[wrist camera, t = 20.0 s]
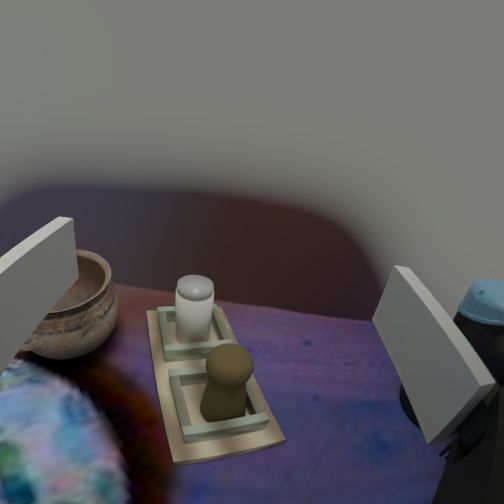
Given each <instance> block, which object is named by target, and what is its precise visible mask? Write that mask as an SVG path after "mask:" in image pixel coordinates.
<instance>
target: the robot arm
mask: <svg viewBox="0 0 504 504" xmlns="http://www.w3.org/2000/svg"><path fill="white" fill-rule="evenodd" d="M78 278H79V272H78V265H77V256H76V247H75V237H74V224H73V218H66V217H58V218H56V219H55V220H53V221H52V222H50V223H48V224H47V225H45V226H44V227H43V228H41V229H40V230H38V231H37V232H35V233H34V234H32V235H31V236H29V237H28V238H27V239H25V240H24V241H22V242H21V243H20V244H18V245H17V246H15V247H14V248H13V249H11V250H10V251H9V252H7V253H6V254H5V255H3V256H2V257H1V258H0V376H1V375H2V373H3V372H4V370H5V369H6V368H7V366H8V365H9V363H10V362H11V361H12V359H13V358H14V356H15V355H16V354H17V352H18V351H19V350H20V348H21V347H22V346H23V344H24V343H25V342H26V340H27V339H28V338H29V336H30V335H31V334H32V333H33V331H34V330H35V329H36V327H37V326H38V325H39V324H40V322H41V321H42V320H43V319H44V317H45V316H46V315H47V314H48V313H49V311H50V310H51V309H52V308H53V307H54V305H55V304H56V303H57V302H58V301H59V300H60V298H61V297H62V296H63V295H64V294H65V293H66V292H67V290H68V289H69V288H70V287H71V286H72V285H73V284H74V283H75V281H76V280H77V279H78ZM372 321H373V323H374V325H375V327H376V329H377V331H378V333H379V335H380V337H381V339H382V341H383V343H384V345H385V347H386V349H387V351H388V353H389V356H390V358H391V360H392V362H393V364H394V366H395V368H396V371H397V373H398V375H399V377H400V380H401V382H402V386H401V390H400V398H401V403H402V406H403V408H404V410H405V412H406V414H407V415H408V417H409V418H410V419H411V420H412V421H413V422H414V423H415V424H416V425H417V426H418V427H420V428H421V429H422V432H423V435H424V437H425V440H426V442H427V444H432V443H436V442H439V441H443V440H445V439H446V438H447V437H448V436H449V435H450V434H453V433H455V432H457V433H458V436H457V437H456V438H455V439H454V440H453V441H452V442H451V443H450V444H449V445H448V446H446V447H445V448H444V449H443V450H442V451H441V453H440V454H439V456H440V457H441V456H443V455H444V454H445V453H446V452H447V451H448V450H450V452H449V454H448V455H447V456H446V457H445V459H447V462H446V465H445V468H444V471H443V474H442V477H441V480H440V483H439V486H438V488H437V491H436V494H435V496H434V499H433V501H432V504H504V282H502V281H498V280H494V279H480V280H477V281H476V282H474V283H473V284H472V285H471V287H470V288H469V290H468V292H467V294H466V295H465V297H464V299H463V301H462V302H460V304H459V307H458V311H457V313H456V315H455V317H454V319H453V321H452V319H451V318H450V317H449V316H448V314H447V313H446V312H445V310H443V308H442V307H441V305H440V304H439V303H438V302H437V301H436V299H435V298H434V297H433V296H432V294H431V293H430V292H429V291H428V290H427V288H426V287H425V286H424V285H423V284H422V282H421V281H420V280H419V279H418V278H417V277H416V276H415V274H414V273H413V272H412V271H411V270H410V269H409V268H408V267H401V266H394V267H393V270H392V272H391V276H390V278H389V280H388V283H387V285H386V288H385V290H384V293H383V295H382V297H381V300H380V302H379V304H378V307H377V309H376V311H375V314H374V316H373V318H372Z"/></svg>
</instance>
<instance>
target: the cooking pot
mask: <svg viewBox="0 0 504 504" xmlns="http://www.w3.org/2000/svg"><path fill="white" fill-rule="evenodd" d="M76 256H77V265H78V272H79V278H78V279H77V280H76V281H75V283H74V284H73V285H72V286H71V287H70V288H69V289H68V290H67V292H66V293H65V294H64V295H63V296H62V297H61V298H60V300H59V301H58V302H57V303H56V304H55V305H54V307H53V308H52V309H51V310H50V311H49V313H48V314H47V315H46V316H45V317H44V319H43V320H42V321H41V322H40V324H39V325H38V326H37V327H36V329H35V330H34V331H33V333H32V334H31V335H30V336H29V338H28V339H27V340H26V342H25V343H24V344H23V346H22V347H21V348H20V350H19V351H33V352H34V353H36V354H38V355H41V356H43V357H47V358H52V359H71V358H75V357H79V356H82V355H85V354H87V353H89V352H91V351H93V350H94V349H96V348H97V347H98V346H100V345H101V344H102V343H103V342H104V341H105V340H106V339H107V338H108V336H109V335H110V334H111V332H112V330H113V328H114V326H115V324H116V321H117V317H118V313H119V301H118V297H117V293H116V290H115V288H114V285H113V283H112V281H111V279H110V277H111V269H110V266H109V265H108V263H107V262H106V261H105V260H104V259H103V258H102V257H100V256H99V255H97V254H95V253H92V252H88V251H85V250H79V249H76Z"/></svg>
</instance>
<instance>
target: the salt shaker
mask: <svg viewBox="0 0 504 504" xmlns="http://www.w3.org/2000/svg"><path fill="white" fill-rule="evenodd" d="M213 299H214V290H213V283H212V281H211V280H210V279H208V278H206V277H203V276H200V275H188V276H184V277H182V278H181V279H179V281H178V286H177V288H176V316H175V337H176V340H177V342H178V343H179V344H184V343H196V342H207V341H209V339H210V328H211V318H212V308H213Z"/></svg>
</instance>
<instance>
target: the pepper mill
mask: <svg viewBox="0 0 504 504" xmlns="http://www.w3.org/2000/svg"><path fill="white" fill-rule="evenodd" d="M205 367H206V371H207V374H208V376H209V377H208V380H207V383H206V386H205V390H204V393H203V396H202V400H201V403H200V413H201V415H202V417H203V418H204V420H205V421H207V422H208V423H211V422H218V421H224V420H229V419H235V418H240V417H245V415H246V382H247V381H248V380H249V379H250V377H251V375H252V373H253V370H254V362H253V359H252V356H251V355H250V353H249V352H248V351H247V350H246V349H245V348H243V347H242V346H240V345H237V344H232V343H225V344H221V345H218V346H216V347H215V348H213V349H212V350H211V351H210V352H209V354H208V356H207V358H206V364H205Z"/></svg>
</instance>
